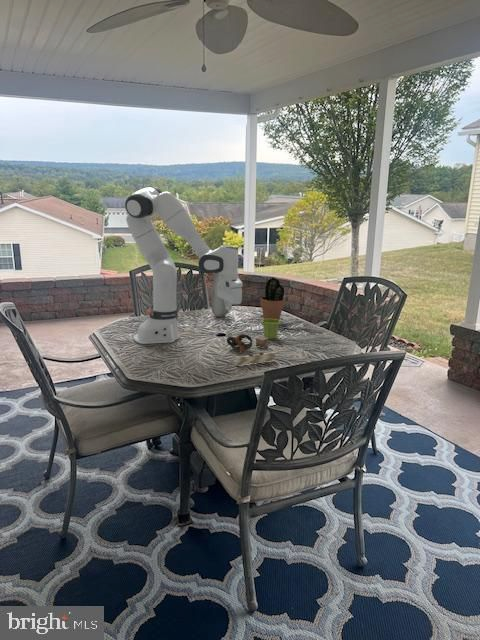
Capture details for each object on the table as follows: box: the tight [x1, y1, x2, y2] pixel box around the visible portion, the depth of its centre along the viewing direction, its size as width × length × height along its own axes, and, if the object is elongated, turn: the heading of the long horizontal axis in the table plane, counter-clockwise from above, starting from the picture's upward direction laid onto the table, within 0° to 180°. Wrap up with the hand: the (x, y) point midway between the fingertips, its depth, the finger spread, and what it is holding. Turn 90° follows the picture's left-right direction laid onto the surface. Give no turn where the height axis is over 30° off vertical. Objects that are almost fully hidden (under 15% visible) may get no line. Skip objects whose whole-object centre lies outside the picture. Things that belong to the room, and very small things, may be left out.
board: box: [235, 351, 276, 365], centre depth 192 cm, size 18×2×5 cm, turn 116°
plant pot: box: [261, 318, 281, 340], centre depth 229 cm, size 9×9×9 cm
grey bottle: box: [210, 273, 229, 318], centre depth 264 cm, size 10×10×28 cm
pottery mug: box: [226, 333, 253, 353], centre depth 209 cm, size 12×10×8 cm
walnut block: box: [255, 336, 269, 348], centre depth 215 cm, size 4×4×4 cm
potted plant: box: [260, 277, 285, 321], centre depth 258 cm, size 14×14×25 cm
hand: (228, 309), depth 213 cm, fingers closed
